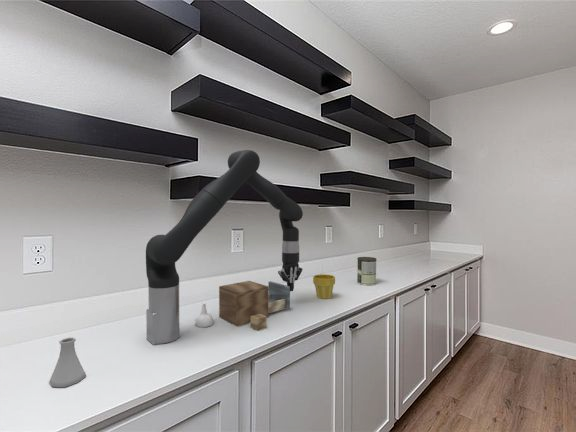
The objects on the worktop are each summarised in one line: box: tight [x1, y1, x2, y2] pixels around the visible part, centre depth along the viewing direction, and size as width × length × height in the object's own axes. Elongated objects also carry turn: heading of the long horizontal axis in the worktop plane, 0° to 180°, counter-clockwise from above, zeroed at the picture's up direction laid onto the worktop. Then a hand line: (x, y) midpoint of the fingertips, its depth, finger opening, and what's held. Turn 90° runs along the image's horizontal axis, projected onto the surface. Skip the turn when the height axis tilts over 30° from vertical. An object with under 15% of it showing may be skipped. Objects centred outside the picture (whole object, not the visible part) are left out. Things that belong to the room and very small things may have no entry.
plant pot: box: [312, 273, 336, 300], centre depth 150 cm, size 10×10×10 cm
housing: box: [218, 280, 269, 327], centre depth 122 cm, size 14×12×12 cm
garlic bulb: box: [194, 303, 214, 328], centre depth 115 cm, size 6×6×8 cm
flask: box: [49, 336, 87, 388], centre depth 78 cm, size 7×7×10 cm
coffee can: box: [356, 256, 377, 287], centre depth 177 cm, size 10×10×14 cm
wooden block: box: [250, 314, 268, 332], centre depth 112 cm, size 4×4×4 cm
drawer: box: [267, 280, 291, 314], centre depth 130 cm, size 15×12×9 cm
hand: (290, 290), depth 138 cm, fingers closed
